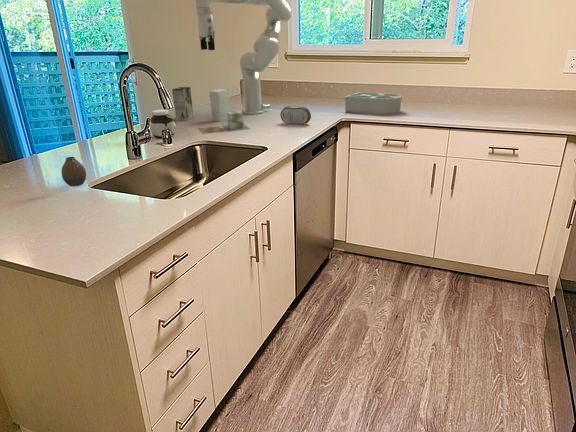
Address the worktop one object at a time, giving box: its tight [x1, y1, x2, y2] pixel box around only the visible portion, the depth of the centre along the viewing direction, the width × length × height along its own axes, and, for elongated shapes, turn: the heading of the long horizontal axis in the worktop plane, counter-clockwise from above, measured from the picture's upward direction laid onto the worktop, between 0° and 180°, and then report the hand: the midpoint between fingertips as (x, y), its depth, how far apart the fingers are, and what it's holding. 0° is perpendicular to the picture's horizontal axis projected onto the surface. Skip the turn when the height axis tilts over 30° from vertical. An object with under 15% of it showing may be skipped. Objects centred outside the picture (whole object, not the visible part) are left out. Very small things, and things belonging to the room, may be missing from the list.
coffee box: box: [172, 86, 195, 122], centre depth 230 cm, size 9×6×16 cm
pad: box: [197, 126, 225, 134], centre depth 204 cm, size 10×12×1 cm
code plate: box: [221, 123, 251, 132], centre depth 208 cm, size 11×14×1 cm
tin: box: [280, 105, 312, 126], centre depth 212 cm, size 15×3×8 cm, turn 71°
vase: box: [61, 156, 87, 187], centre depth 137 cm, size 7×7×9 cm
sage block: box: [227, 110, 244, 129], centre depth 206 cm, size 6×6×7 cm
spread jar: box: [149, 109, 177, 140], centre depth 196 cm, size 12×11×12 cm
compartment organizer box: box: [344, 91, 402, 116], centre depth 236 cm, size 17×28×9 cm, turn 57°
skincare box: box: [209, 88, 231, 122], centre depth 223 cm, size 8×7×16 cm
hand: (207, 49), depth 219 cm, fingers open, 9 cm apart
